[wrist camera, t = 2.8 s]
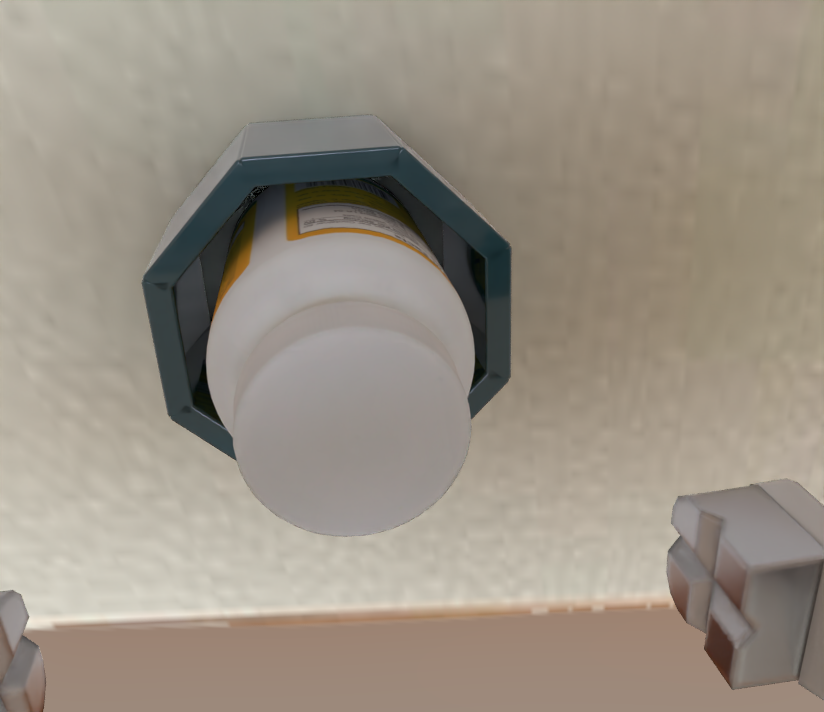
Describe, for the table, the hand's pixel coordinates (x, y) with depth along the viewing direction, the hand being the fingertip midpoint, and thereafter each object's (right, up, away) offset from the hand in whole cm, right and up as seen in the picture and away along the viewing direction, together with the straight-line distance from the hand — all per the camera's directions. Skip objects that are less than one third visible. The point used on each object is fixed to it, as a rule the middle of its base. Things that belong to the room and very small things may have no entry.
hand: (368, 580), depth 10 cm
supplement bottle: (-2, +5, +12) cm, 13 cm away
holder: (-2, +5, +12) cm, 13 cm away
